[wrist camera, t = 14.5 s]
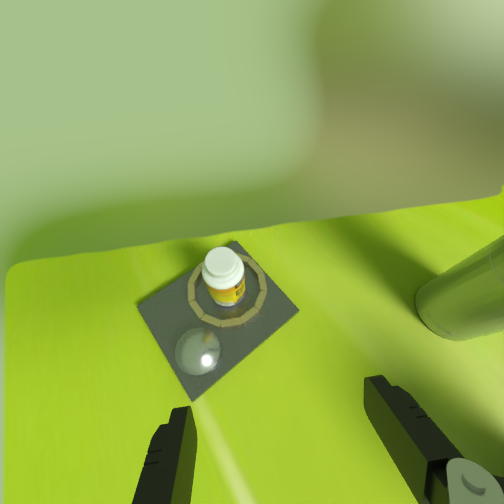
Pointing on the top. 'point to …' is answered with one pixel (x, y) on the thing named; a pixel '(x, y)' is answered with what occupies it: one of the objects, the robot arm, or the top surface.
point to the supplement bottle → (224, 276)
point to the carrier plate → (214, 323)
